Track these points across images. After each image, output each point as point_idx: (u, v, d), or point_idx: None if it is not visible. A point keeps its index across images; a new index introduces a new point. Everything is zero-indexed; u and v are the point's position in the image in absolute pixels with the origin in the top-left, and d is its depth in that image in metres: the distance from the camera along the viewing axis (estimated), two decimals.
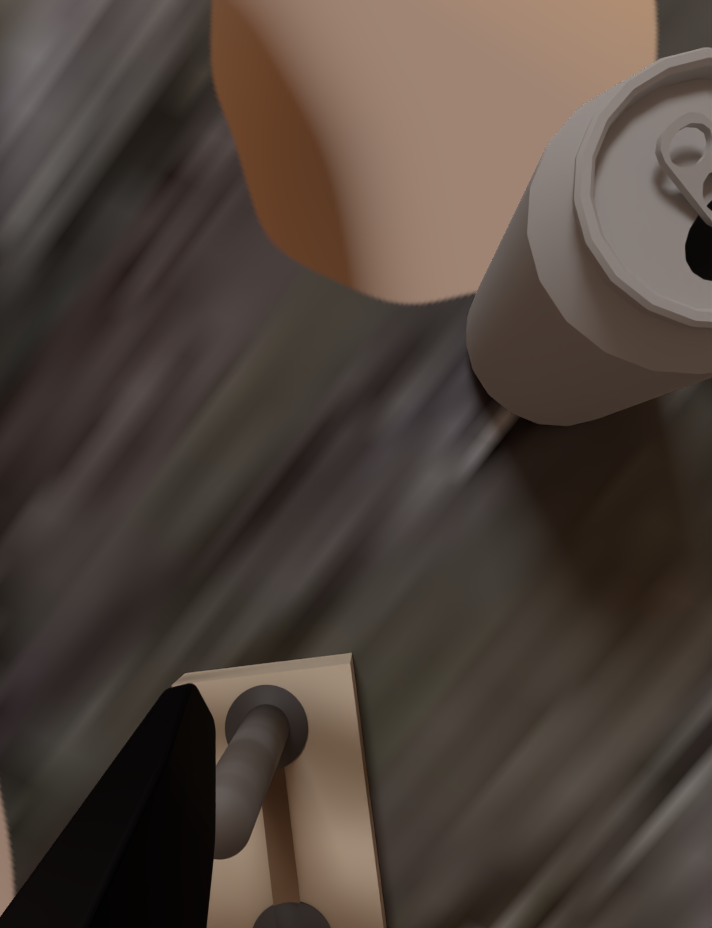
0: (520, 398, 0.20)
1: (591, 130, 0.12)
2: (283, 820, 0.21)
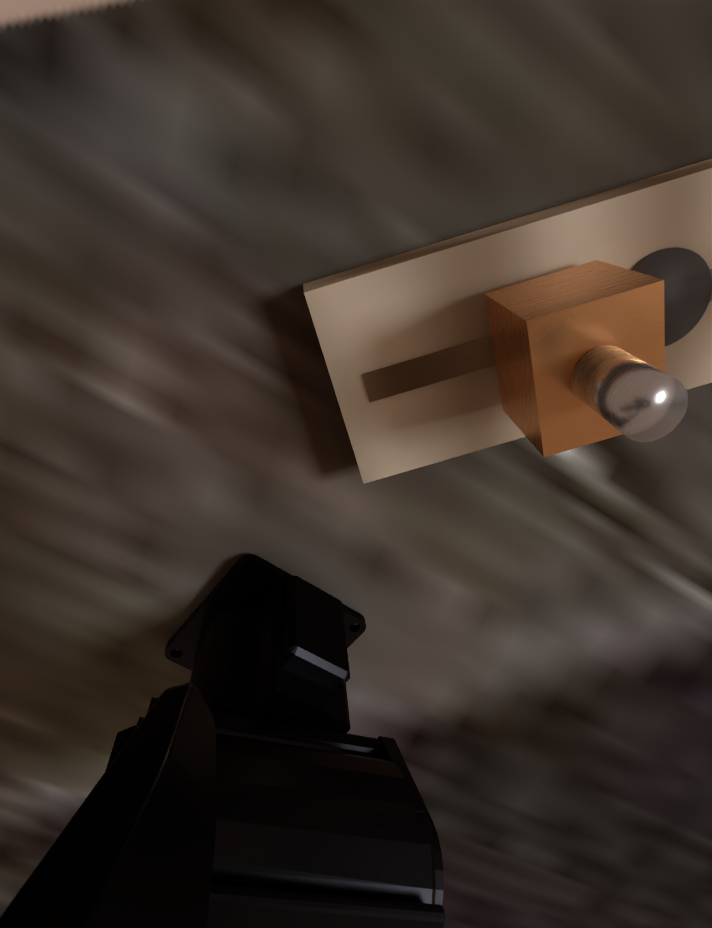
0: None
1: None
2: None
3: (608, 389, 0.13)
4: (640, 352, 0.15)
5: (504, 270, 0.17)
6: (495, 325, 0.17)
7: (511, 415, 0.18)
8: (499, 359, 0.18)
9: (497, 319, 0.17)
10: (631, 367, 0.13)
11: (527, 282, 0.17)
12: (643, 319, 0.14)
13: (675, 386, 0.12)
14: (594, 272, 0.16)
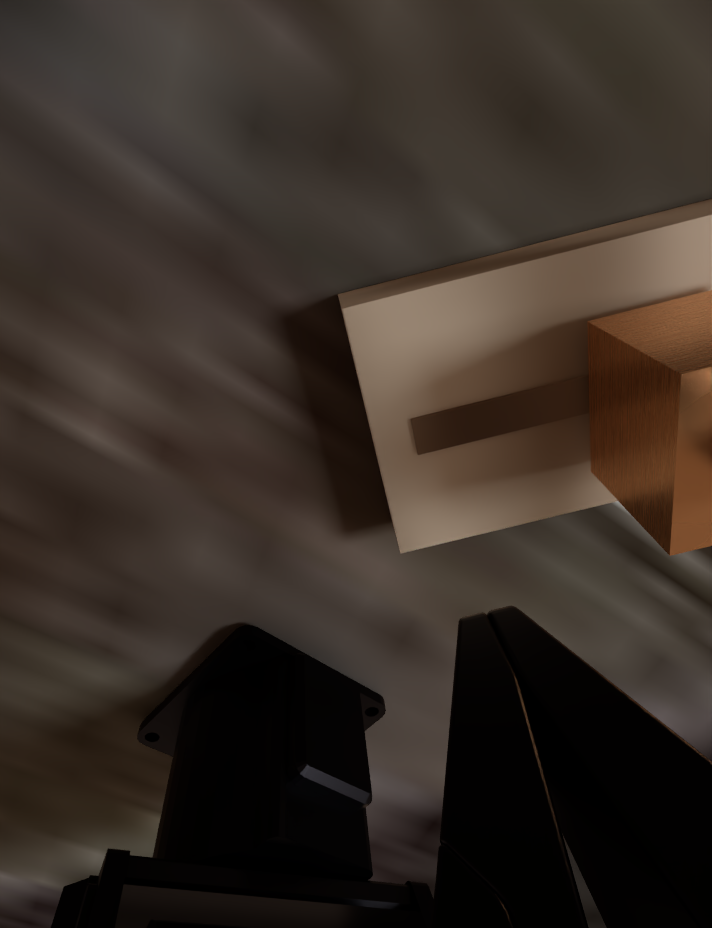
0: None
1: None
2: None
3: None
4: None
5: (614, 290, 0.13)
6: (602, 366, 0.12)
7: (608, 483, 0.14)
8: (599, 410, 0.13)
9: (607, 359, 0.12)
10: None
11: (648, 309, 0.12)
12: None
13: None
14: None
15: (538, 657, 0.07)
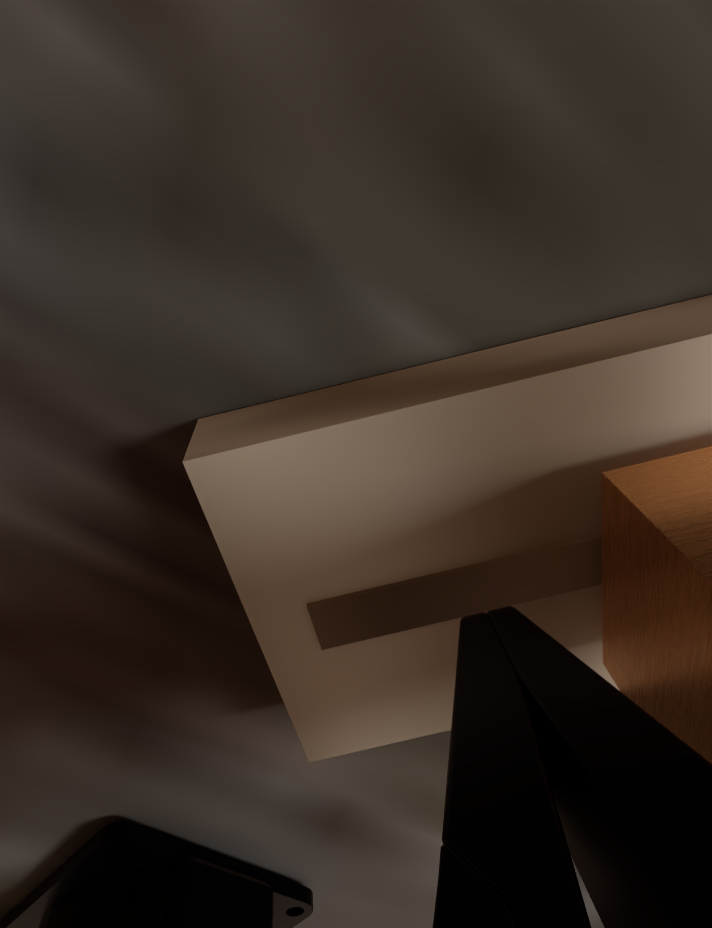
0: None
1: None
2: None
3: None
4: None
5: (611, 429, 0.08)
6: (625, 546, 0.08)
7: (630, 698, 0.09)
8: (619, 599, 0.09)
9: (636, 544, 0.08)
10: None
11: (697, 457, 0.08)
12: None
13: None
14: None
15: (536, 657, 0.07)
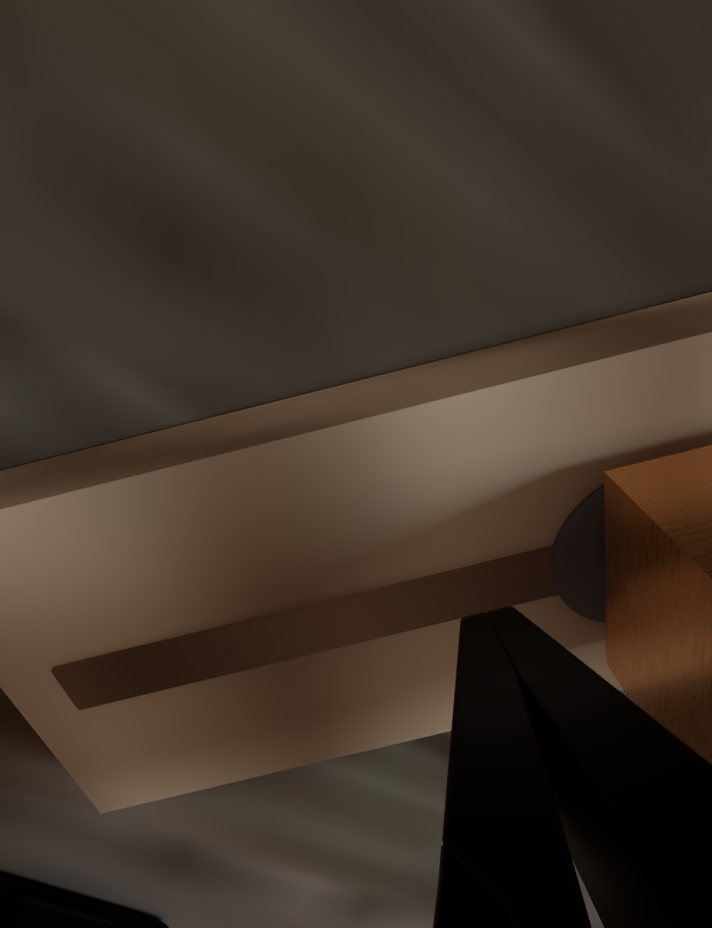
0: None
1: None
2: None
3: None
4: None
5: (322, 500, 0.08)
6: (628, 545, 0.08)
7: (633, 698, 0.09)
8: (622, 599, 0.09)
9: (639, 543, 0.07)
10: None
11: (700, 455, 0.08)
12: None
13: None
14: None
15: (536, 658, 0.07)
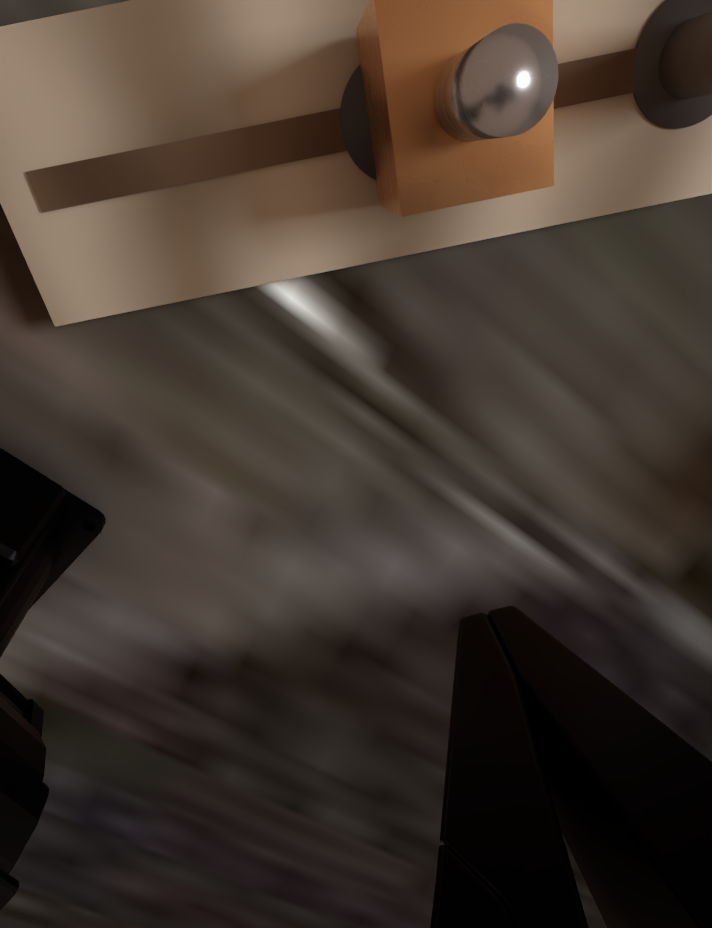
0: None
1: None
2: (564, 95, 0.15)
3: (461, 64, 0.10)
4: None
5: (193, 47, 0.14)
6: (364, 67, 0.14)
7: (384, 200, 0.15)
8: (371, 122, 0.14)
9: (364, 53, 0.13)
10: None
11: None
12: (526, 17, 0.11)
13: (541, 46, 0.09)
14: None
15: (538, 657, 0.07)
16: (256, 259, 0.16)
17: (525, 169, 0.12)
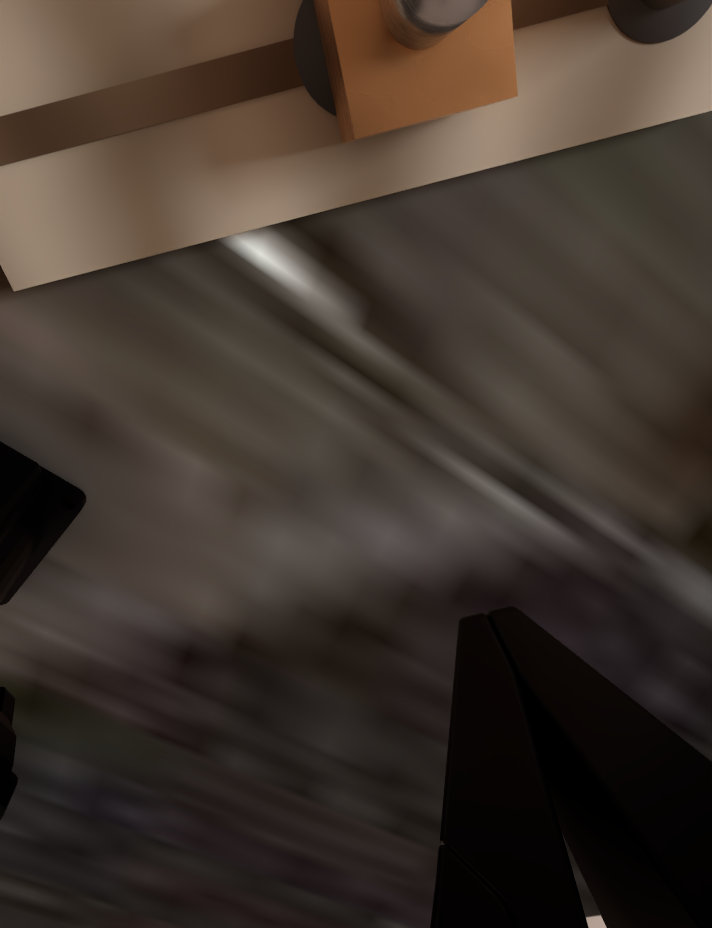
0: None
1: None
2: (532, 12, 0.14)
3: None
4: None
5: None
6: None
7: (343, 133, 0.14)
8: (324, 48, 0.13)
9: None
10: None
11: None
12: None
13: None
14: None
15: (538, 657, 0.07)
16: (217, 209, 0.16)
17: (485, 78, 0.12)
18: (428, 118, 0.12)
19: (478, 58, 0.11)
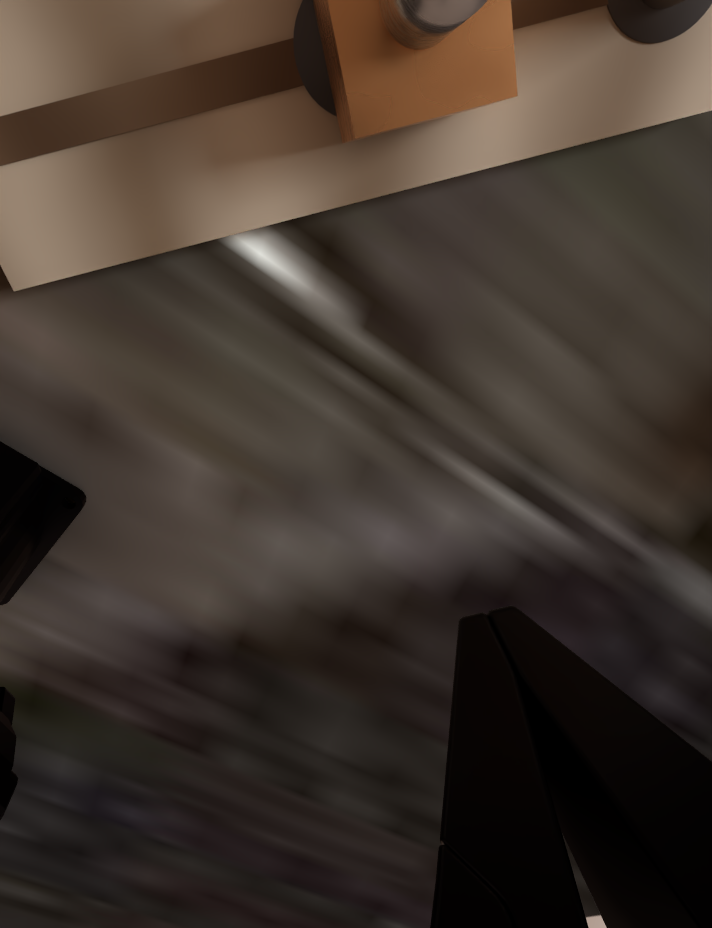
0: None
1: None
2: (532, 12, 0.14)
3: None
4: None
5: None
6: None
7: (343, 133, 0.14)
8: (324, 48, 0.13)
9: None
10: None
11: None
12: None
13: None
14: None
15: (538, 657, 0.07)
16: (217, 209, 0.16)
17: (485, 78, 0.12)
18: (428, 118, 0.12)
19: (478, 58, 0.11)
